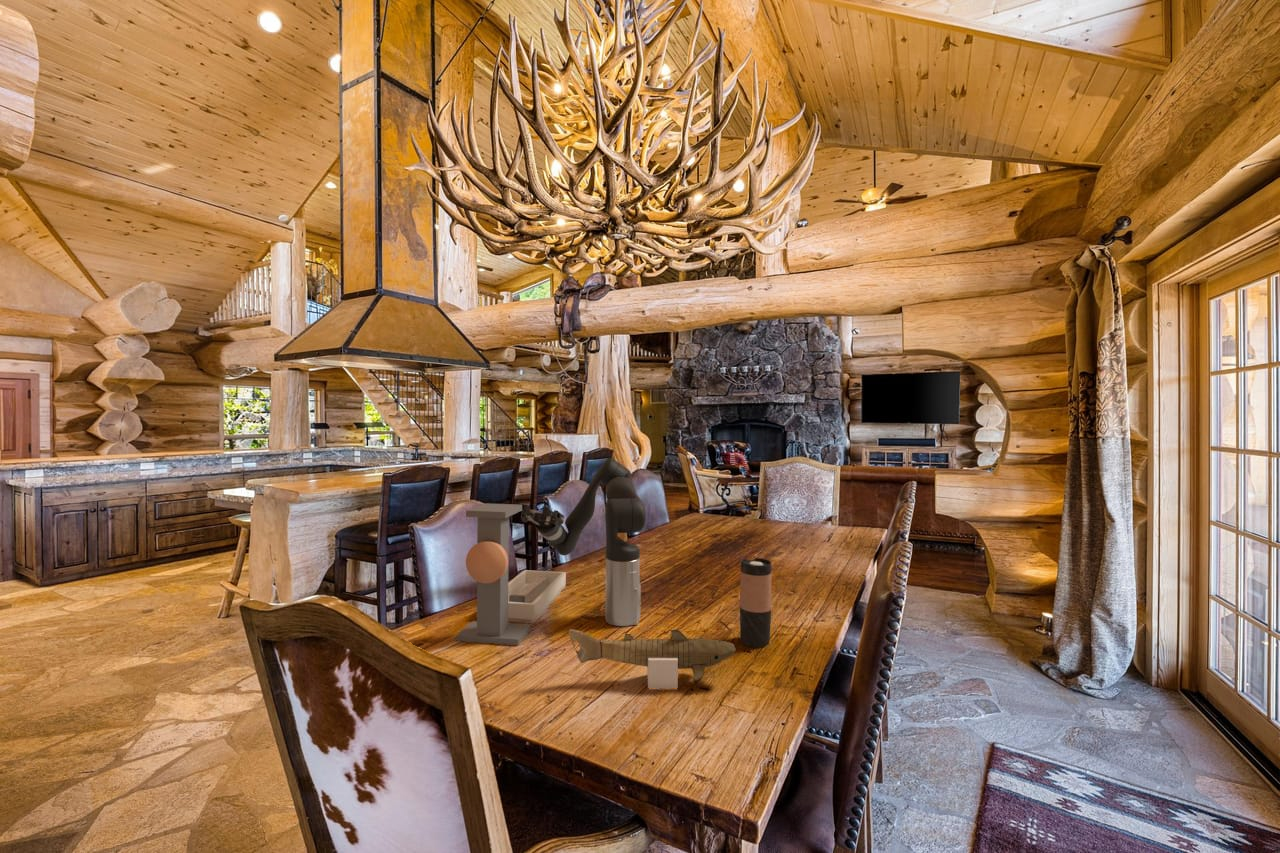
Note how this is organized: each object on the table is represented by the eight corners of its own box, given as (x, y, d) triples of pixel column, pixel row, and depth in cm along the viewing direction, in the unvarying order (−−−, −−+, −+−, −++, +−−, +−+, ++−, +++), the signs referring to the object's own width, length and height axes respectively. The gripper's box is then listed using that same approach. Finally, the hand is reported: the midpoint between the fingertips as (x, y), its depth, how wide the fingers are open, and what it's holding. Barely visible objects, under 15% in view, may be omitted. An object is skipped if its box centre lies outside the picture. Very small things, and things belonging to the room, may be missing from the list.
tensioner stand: (532, 629, 137) (533, 505, 136) (516, 647, 126) (517, 512, 125) (474, 625, 139) (474, 503, 138) (453, 642, 128) (454, 510, 128)
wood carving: (570, 671, 114) (570, 620, 114) (730, 671, 115) (731, 621, 115) (565, 693, 105) (565, 638, 105) (739, 693, 106) (739, 638, 106)
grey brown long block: (550, 587, 168) (550, 575, 168) (522, 610, 147) (522, 597, 147) (539, 586, 169) (538, 574, 169) (509, 610, 147) (509, 596, 147)
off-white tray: (565, 587, 170) (565, 572, 170) (533, 623, 141) (534, 604, 141) (524, 585, 172) (524, 570, 172) (484, 619, 143) (484, 601, 143)
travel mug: (762, 651, 125) (764, 567, 125) (733, 642, 130) (734, 562, 129) (775, 640, 131) (776, 560, 131) (747, 632, 136) (748, 555, 136)
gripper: (530, 514, 178) (514, 496, 164) (571, 516, 176) (559, 497, 162) (526, 536, 175) (509, 519, 160) (568, 538, 173) (555, 521, 158)
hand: (534, 508), depth 161 cm, fingers open, 5 cm apart
